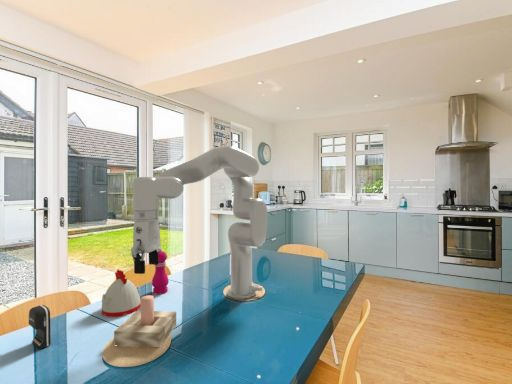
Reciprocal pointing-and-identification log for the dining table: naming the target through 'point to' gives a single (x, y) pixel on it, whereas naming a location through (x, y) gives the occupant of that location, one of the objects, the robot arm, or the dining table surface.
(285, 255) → the dining table surface
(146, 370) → the dining table surface
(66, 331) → the dining table surface
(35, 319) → the black coffee maker
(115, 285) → the white dome
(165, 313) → the socket block
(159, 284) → the pepper mill
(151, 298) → the peg
